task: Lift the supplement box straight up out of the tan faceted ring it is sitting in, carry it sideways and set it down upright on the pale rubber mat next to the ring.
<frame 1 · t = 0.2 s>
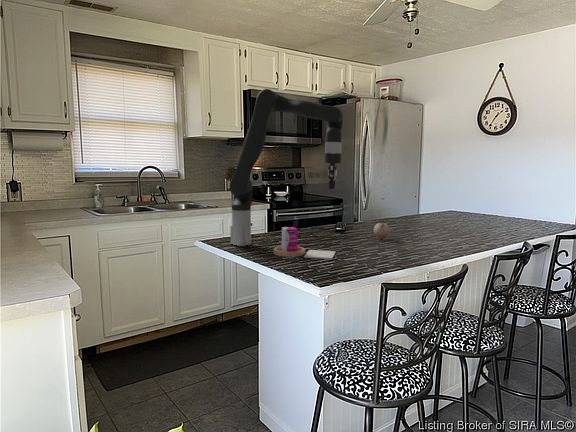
hand: (332, 188, 188), 29 cm above the table, fingers open, 8 cm apart
decorative fruit: (381, 240, 218), on the table
rubber mat: (320, 255, 181), on the table
tan faceted ring: (289, 253, 184), on the table
supplement box: (289, 253, 184), resting in tan faceted ring
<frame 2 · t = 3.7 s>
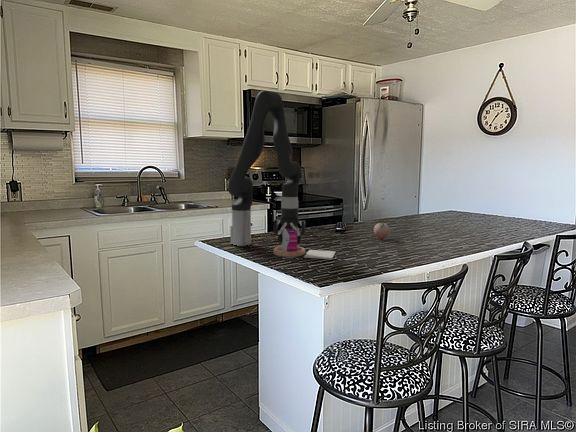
hand: (289, 243, 183), 5 cm above the table, fingers closed on supplement box, 7 cm apart
supplement box: (289, 253, 184), resting in tan faceted ring, touching gripper
everything else where it was.
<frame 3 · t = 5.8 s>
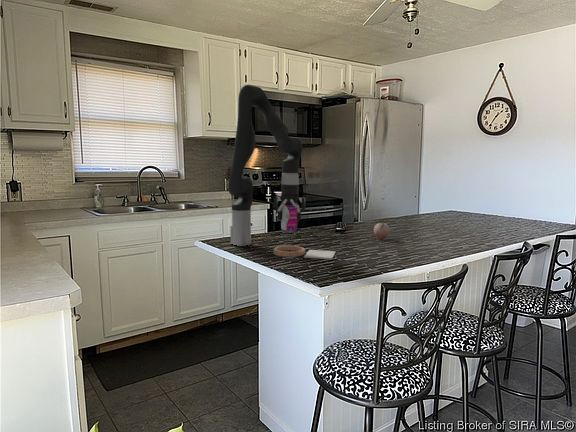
hand: (289, 220, 182), 15 cm above the table, fingers closed on supplement box, 7 cm apart
supplement box: (288, 230, 183), point 10 cm above the table, touching gripper
everything else where it was.
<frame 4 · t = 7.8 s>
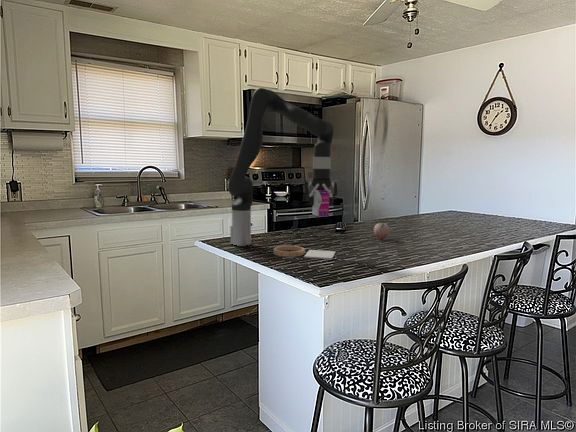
hand: (321, 205, 178), 22 cm above the table, fingers closed on supplement box, 7 cm apart
supplement box: (320, 216, 179), point 17 cm above the table, touching gripper
everything else where it was.
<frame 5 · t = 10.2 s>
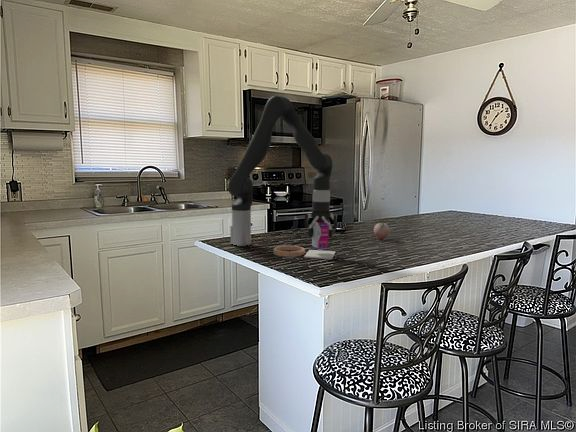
hand: (320, 237, 180), 8 cm above the table, fingers closed on supplement box, 7 cm apart
supplement box: (320, 248, 181), point 3 cm above the table, touching gripper
everything else where it was.
when the fingers open (6 cm above the table, at t = 11.7 s): supplement box drops 1 cm, resting on rubber mat.
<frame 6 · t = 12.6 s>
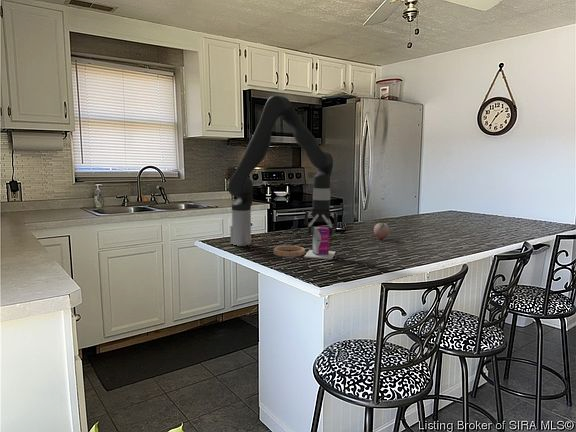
hand: (320, 235, 180), 9 cm above the table, fingers open, 8 cm apart
supplement box: (320, 254, 181), resting on rubber mat
everything else where it was.
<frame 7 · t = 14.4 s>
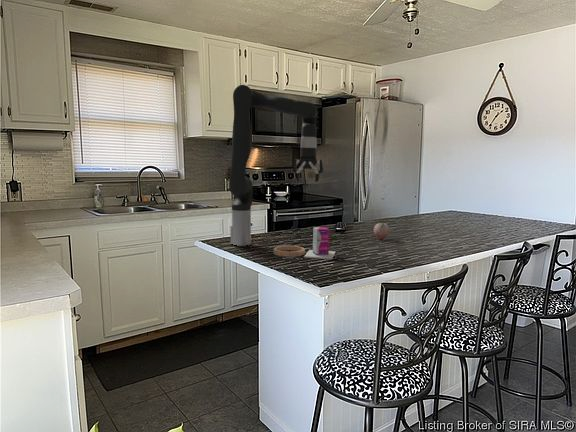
hand: (307, 181, 195), 31 cm above the table, fingers open, 8 cm apart
nothing on the table moved.
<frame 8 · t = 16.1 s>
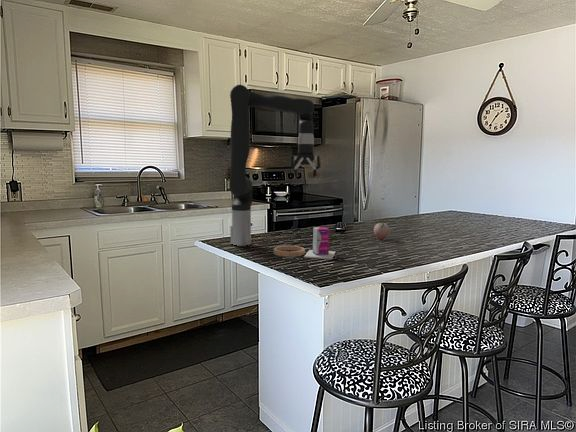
hand: (305, 177, 199), 33 cm above the table, fingers open, 8 cm apart
nothing on the table moved.
at the end: supplement box inside the target area on the rubber mat (0.2 cm from its centre), point 0.4 cm above the rubber mat's base; supplement box tilted 0°; the gripper is holding nothing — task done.
